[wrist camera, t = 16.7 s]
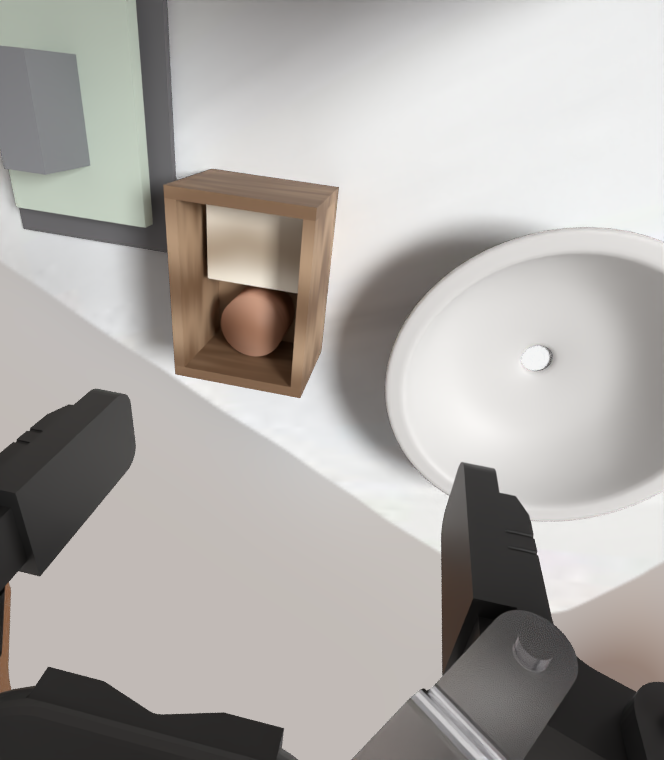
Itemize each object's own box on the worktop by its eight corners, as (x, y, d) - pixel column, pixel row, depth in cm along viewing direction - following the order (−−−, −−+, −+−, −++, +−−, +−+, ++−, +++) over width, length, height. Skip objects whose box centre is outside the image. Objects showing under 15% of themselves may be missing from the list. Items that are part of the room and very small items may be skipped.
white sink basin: (543, 510, 49) (557, 564, 43) (339, 380, 46) (326, 420, 40) (781, 329, 37) (843, 371, 31) (526, 135, 34) (544, 143, 28)
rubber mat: (-32, -73, 34) (-40, -76, 33) (164, -54, 32) (159, -56, 32) (28, 227, 44) (23, 228, 43) (179, 251, 42) (176, 253, 42)
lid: (-8, -25, 34) (-106, -51, 28) (142, -8, 33) (75, -32, 27) (35, 202, 42) (-34, 220, 36) (158, 221, 41) (109, 244, 35)
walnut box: (211, 168, 39) (163, 184, 32) (338, 187, 38) (316, 208, 31) (214, 332, 46) (175, 374, 39) (321, 351, 45) (300, 398, 38)
